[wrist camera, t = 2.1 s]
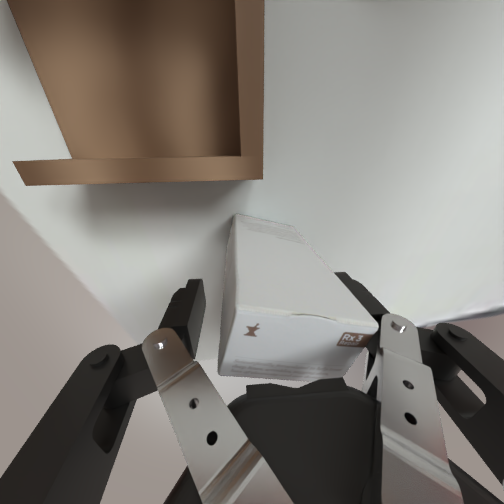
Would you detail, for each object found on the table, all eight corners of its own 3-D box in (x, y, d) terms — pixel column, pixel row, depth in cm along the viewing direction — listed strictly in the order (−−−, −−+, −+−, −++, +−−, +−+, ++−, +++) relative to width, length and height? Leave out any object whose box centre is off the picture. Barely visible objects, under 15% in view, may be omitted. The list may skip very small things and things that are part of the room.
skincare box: (225, 252, 19) (208, 383, 8) (234, 209, 17) (226, 307, 6) (283, 263, 20) (336, 392, 9) (298, 223, 18) (387, 329, 7)
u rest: (253, -78, 10) (266, -275, 5) (255, 171, 16) (262, 179, 11) (-10, -87, 9) (-251, -317, 5) (91, 175, 15) (25, 185, 10)
